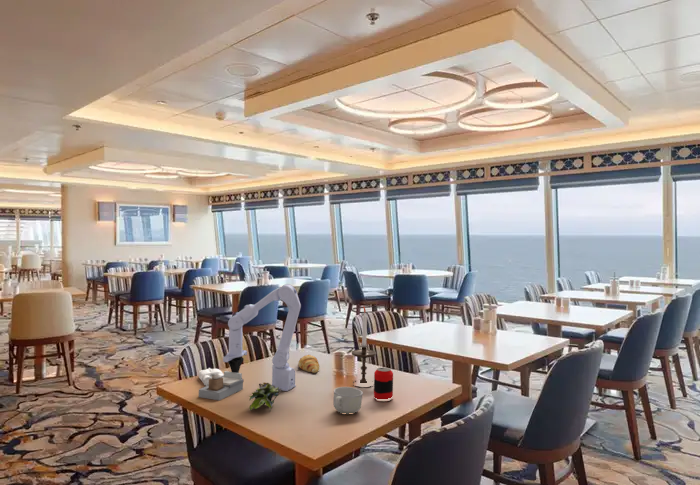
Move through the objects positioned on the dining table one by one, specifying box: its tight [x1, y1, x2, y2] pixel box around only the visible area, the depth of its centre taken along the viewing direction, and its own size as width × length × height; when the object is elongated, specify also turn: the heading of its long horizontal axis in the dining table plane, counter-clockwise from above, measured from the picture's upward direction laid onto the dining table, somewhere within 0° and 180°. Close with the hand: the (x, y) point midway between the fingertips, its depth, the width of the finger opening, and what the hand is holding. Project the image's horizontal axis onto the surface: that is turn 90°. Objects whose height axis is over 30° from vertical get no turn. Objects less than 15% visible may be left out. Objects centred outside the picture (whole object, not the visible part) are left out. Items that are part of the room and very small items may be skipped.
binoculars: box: [198, 367, 224, 387], centre depth 217 cm, size 10×16×5 cm, turn 29°
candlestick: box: [351, 306, 377, 383], centre depth 214 cm, size 11×11×35 cm
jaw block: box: [209, 375, 223, 391], centre depth 196 cm, size 4×4×8 cm
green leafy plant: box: [248, 382, 282, 412], centre depth 182 cm, size 11×11×12 cm
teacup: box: [332, 386, 364, 414], centre depth 179 cm, size 14×11×8 cm
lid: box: [222, 370, 243, 386], centre depth 203 cm, size 8×8×3 cm
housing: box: [198, 376, 244, 401], centre depth 199 cm, size 11×16×4 cm, turn 158°
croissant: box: [297, 354, 320, 374], centre depth 240 cm, size 21×10×8 cm
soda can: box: [373, 367, 394, 399], centre depth 195 cm, size 8×8×12 cm
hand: (235, 375), depth 208 cm, fingers closed
